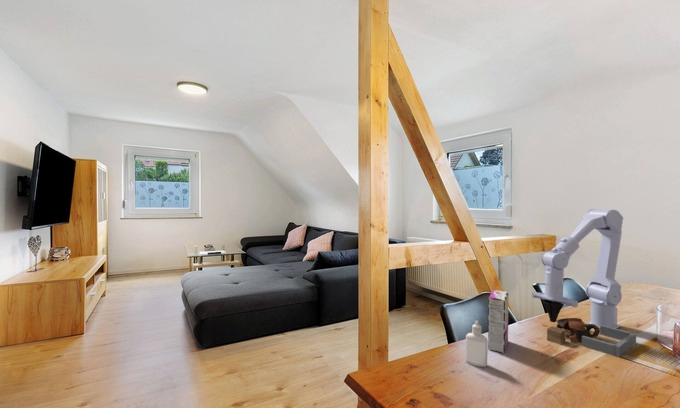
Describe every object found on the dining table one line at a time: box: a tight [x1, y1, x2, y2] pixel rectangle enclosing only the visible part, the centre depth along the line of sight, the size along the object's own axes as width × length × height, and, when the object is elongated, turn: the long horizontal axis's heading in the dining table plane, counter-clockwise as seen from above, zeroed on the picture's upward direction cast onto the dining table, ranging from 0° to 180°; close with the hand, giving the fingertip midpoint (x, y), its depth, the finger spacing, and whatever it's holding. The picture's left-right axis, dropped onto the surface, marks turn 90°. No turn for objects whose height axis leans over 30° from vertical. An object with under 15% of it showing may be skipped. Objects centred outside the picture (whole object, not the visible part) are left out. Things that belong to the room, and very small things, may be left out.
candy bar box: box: [487, 289, 509, 354], centre depth 105 cm, size 11×5×16 cm, turn 148°
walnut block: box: [546, 325, 567, 345], centre depth 109 cm, size 4×4×4 cm
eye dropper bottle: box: [464, 320, 488, 368], centre depth 92 cm, size 4×6×12 cm
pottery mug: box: [555, 317, 601, 344], centre depth 111 cm, size 12×9×8 cm
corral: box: [581, 325, 637, 358], centre depth 107 cm, size 18×9×3 cm, turn 125°
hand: (553, 321), depth 120 cm, fingers closed
